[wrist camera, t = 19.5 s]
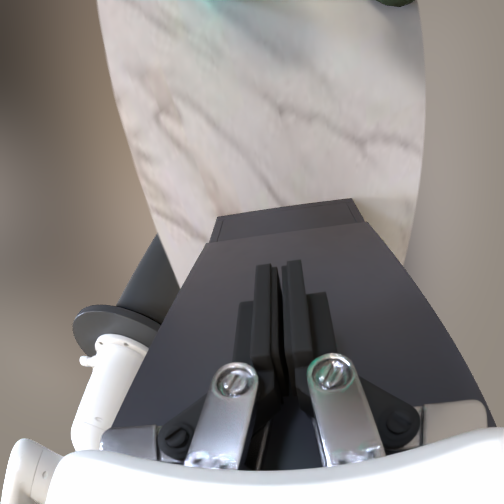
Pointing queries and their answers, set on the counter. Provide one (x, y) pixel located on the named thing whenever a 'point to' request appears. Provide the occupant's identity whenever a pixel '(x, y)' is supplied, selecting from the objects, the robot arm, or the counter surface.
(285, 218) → the open storage bin
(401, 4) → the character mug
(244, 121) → the counter surface
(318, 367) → the robot arm
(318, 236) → the lid
